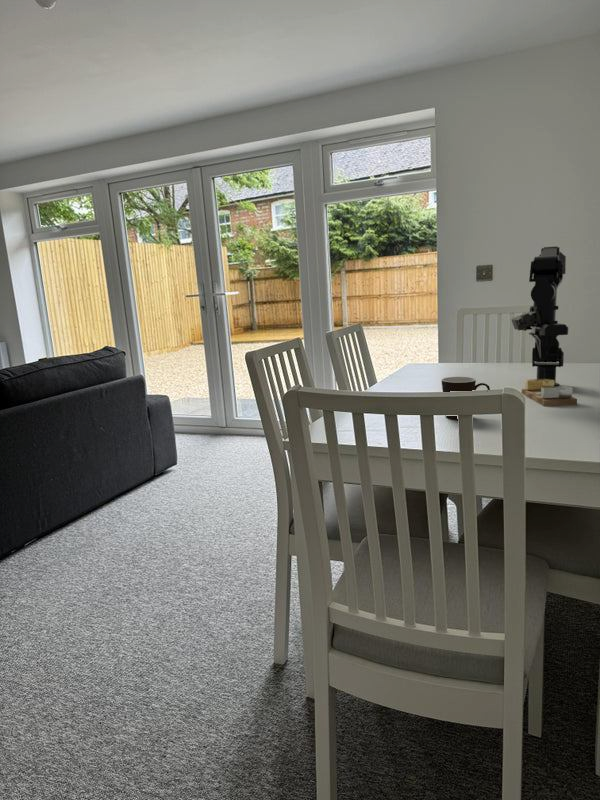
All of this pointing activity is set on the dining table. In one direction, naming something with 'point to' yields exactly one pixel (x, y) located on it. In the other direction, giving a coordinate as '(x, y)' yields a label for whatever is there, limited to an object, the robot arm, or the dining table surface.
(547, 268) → the robot arm
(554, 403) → the copper base
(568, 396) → the steel lever handle
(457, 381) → the coffee mug
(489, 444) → the dining table surface
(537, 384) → the brass lever
